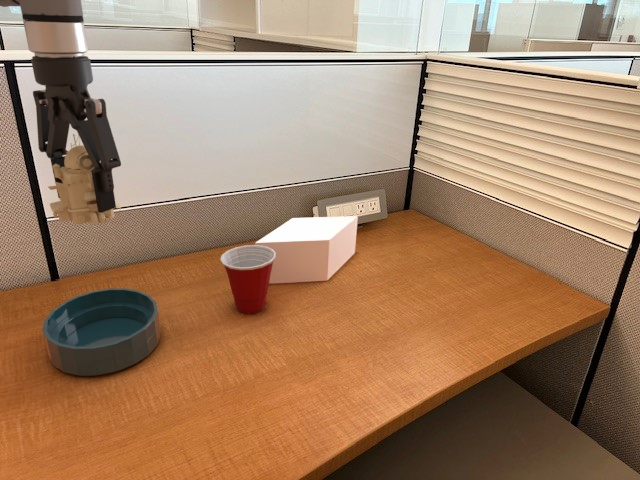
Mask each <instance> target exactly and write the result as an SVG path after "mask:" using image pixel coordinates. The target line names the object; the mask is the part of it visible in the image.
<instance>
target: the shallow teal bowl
mask: <svg viewBox="0 0 640 480" xmlns="http://www.w3.org/2000/svg"><path fill="white" fill-rule="evenodd" d="M41 332H42V336H43V339H44V344H45V348H46V353H47V356H48V358H49V360H50V362H51V364H52V366H53V367H54V368H56V369H58V370H59V371H61V372H63V373H66V374H69V375H74V376H75V375H76V376H78V377H83V376H84V377H85V376H100V375H106V374H110V373H115V372H119V371H122V370H124V369H127V368H128V367H131V366H133V365H135V364H137V363H139V362H140V361H142V360H143V359H145V358H146V357H148V356H149V355H150V354H151V353H152V352H153V350H155V348H156V347H157V346H158V344H159V343H160V342H159V341H160V339H161V336H162V333H161V325H160V316H159V309H158V304H157V301H156V300H155V299H154V298H153V297H152V296H151V295H150V294H147V293H146V292H143V291H141V290H136V289H131V288H125V287H122V288H120V287H119V288H117V287H115V288H112V287H111V288H104V289H97V290H92V291H89V292H86V293H83V294H79V295H76V296H74V297H72V298H70V299H68V300H66V301H63V302H62V303H60V304H59V305H58V306H56V307H55V308H54V309H53V310H51V311H50V312H49V314H48V315H47V316H46V317H45V318H44V320H43V324H42V329H41Z"/></svg>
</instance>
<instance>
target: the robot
mask: <svg viewBox="0 0 640 480" xmlns="http://www.w3.org/2000/svg"><path fill="white" fill-rule="evenodd" d="M77 136H79V134H78V133H77ZM72 137H73V140H74V141H73V142H74V144H73V145H72V144H70V147H71V148H70V149H69V150H67V151H68V152H67V154H66V155H64V156H65V160H64V164H65V167H61V168H60V165H58V164H56V163H55V164H54V165H53V166H52V165H51V168H52V167H53V169H52V171H53V170H54V174H53V176H54V175H55V177H56V178H59V179H61V180H62V183H63V184H62V183H58V182H55V181H54V184H55V185H49V186H47V187H48V189H49V190H50V191H52V190H56V194H58V193H59V196H60V198H59V200H57V201H54V202H51V203H49V206H50V210H51V212H52V215H53V218H54V219H59V221H61V222H72V223H73V224H75V225H83V224H87V223H91V224H92V225H98V224H99V223H100V224H104V223H107V222H111V220H112V219H113V218H115V217H116V216H115V212H116V213H117V214H118V216H120V214H122V212H121V209H122V206H121V205H120V204H119V203H115V204H116V208H115V209H119V210H115V209H111V210H108V211H105V212H102V213H101V212H98V208H97V202H96V196H95V190H94V184H93V178H92V173H91V170H93V169H94V166H93V164H92V162H91V160H90V158H89V155H88V153H87V151H86V149H85V147H84V145H83V144H81V143H80V142H81V140H79V137H77V138H76V135H75V134H74V133H73V134H72ZM77 142H78V145H77ZM100 163H101V162H100ZM57 190H58V192H57ZM124 216H127V213H124Z"/></svg>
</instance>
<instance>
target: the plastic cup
mask: <svg viewBox="0 0 640 480" xmlns="http://www.w3.org/2000/svg"><path fill="white" fill-rule="evenodd" d="M275 257H276V252H275V251H274V250H273V249H271V248H269V247H266V246H260V245H255V244H247V245H240V246H236V247H232V248H231V249H228V250H225V252H224V253H223V254H221V256H220V263H222V265H223V266H224V269H225V272H226V274H227V278H228V282H229V285H230V290H231V294H232V296H233V299H234V300H233V301H234V304H235V306H236V307H235V308H236V309H237V311H238V312H239V313H242V314H245V315H253V314H258V313H260V312H261V311H263V310H264V309H265V307H266V302H267V297H268V293H269V287H270V284H269V280H270V274H271V271H272V266H273V261H274V260H275Z"/></svg>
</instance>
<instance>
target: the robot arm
mask: <svg viewBox="0 0 640 480" xmlns="http://www.w3.org/2000/svg"><path fill="white" fill-rule="evenodd" d="M0 7H1V8H2V7H3V8H7V7H19V8H20V11H21V17H22V23H23V28H24V32H25V37H26V44H27V46H28V47H27V48H28V51H29V52H31V53H33V54H34V55H33V56H32V57H31V58H30V60H31V66H32V70H33V71H32V72H33V76H34V77H33V78H34V81H35V82H36V84H38V85H40V86H44V87H45V88H44V89H39V90H33V91H32V96H33V101H34V105H35V110H36V111H35V112H36V126H37V127H36V129H37V130H36V131H37V139H38V140H37V143H38V144H37V145H38V150H39V152H40V153H45V154H46V157H47V158H48V159H50V163H51V169H52V174H53V178H54V183H55V182H58V183H62V180H61V179H59V178H56V177H55V175H54V170H53V167H52V166H53V165H54V164H55V163H56V164H58V165H60V168H61V167H65V164H64V160H65V156H66V154H67V153H68V151H69V150H67V145H68V137H69V131H70V126H71V128H72V129H73V130H75V131H76V132H77V135H78V134H79V135H78V137H79V139H80V142H81V143H82V145H84V147H85V149H86V151H87V153H88V155H89V158H90V160H91V162H92V164H93V166H94V169H93V170H91V173H92V178H93V184H94V190H95V196H96V202H97V208H98V212H101V213H102V212H105V211H108V210H111V209H113V210H115V209H117V208H116V204H117V203H116V197H115V192H114V191H115V190H114V189H115V184H114V178H113V177H114V176H113V169H116V168H119V167H121V166H122V162H121V158H120V155H119V152H118V151H119V150H118V148H117V145H116V142H115V138H114V135H113V132H112V129H111V125H110V122H109V118H108V115H107V104H106V100H105V99H104V98H92V97H91V95H90V93H89V90H88V86H89V85H90V84H92V83H93V81H94V76H93V69H92V64H91V63H92V62H91V58H89V56H87V55H85V54H87V53H88V52H89V47H88V40H87V34H86V28H85V21H84V13H83V5H82V0H0ZM100 162H101V163H100ZM62 184H63V183H62ZM57 192H58V190H57V189H56V193H57ZM57 197H58V199H60V196H59V193H57Z"/></svg>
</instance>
